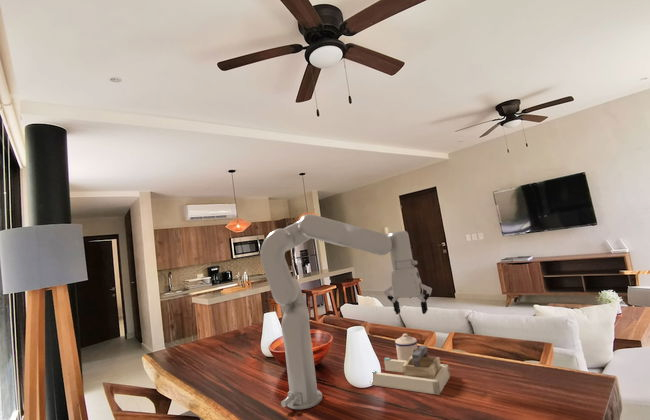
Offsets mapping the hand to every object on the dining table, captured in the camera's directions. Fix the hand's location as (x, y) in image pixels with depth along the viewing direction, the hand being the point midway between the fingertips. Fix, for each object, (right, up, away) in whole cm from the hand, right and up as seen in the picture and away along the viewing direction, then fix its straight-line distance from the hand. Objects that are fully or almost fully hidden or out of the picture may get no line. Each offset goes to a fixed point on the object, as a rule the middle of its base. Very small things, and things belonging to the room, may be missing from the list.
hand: (411, 313), depth 118 cm
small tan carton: (+4, -23, -4) cm, 23 cm away
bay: (0, -25, -1) cm, 25 cm away
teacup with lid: (+4, -26, +19) cm, 32 cm away
